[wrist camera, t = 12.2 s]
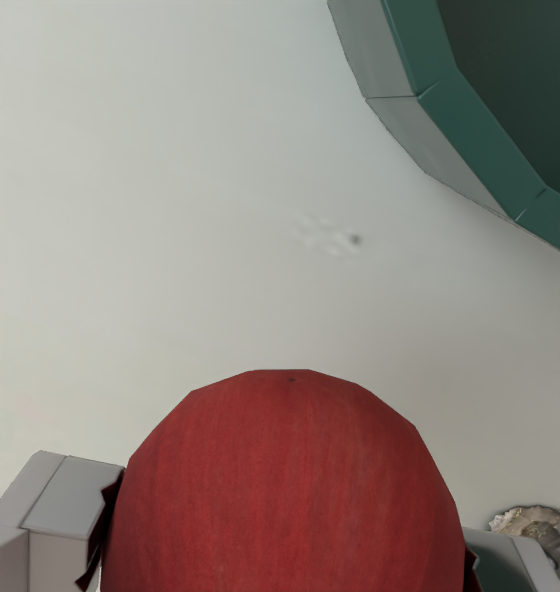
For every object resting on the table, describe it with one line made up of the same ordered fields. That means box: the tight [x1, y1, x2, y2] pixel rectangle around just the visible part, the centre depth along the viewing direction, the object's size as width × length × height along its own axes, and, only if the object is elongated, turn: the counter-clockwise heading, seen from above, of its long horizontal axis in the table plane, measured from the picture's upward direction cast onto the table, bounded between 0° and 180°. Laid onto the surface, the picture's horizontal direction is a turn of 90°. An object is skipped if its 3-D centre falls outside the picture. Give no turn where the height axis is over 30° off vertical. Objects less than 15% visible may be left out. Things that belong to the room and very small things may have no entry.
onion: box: [100, 369, 465, 592], centre depth 8 cm, size 6×6×8 cm
